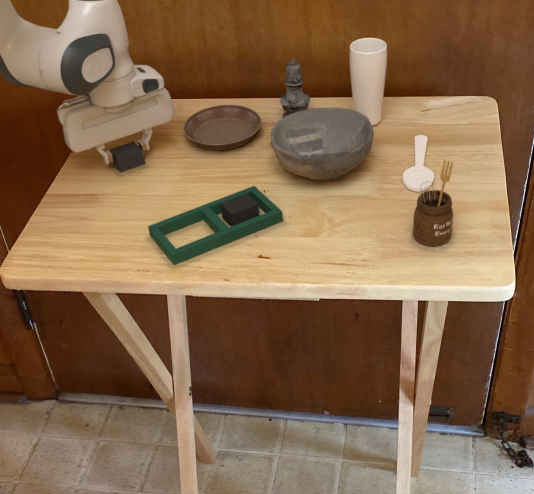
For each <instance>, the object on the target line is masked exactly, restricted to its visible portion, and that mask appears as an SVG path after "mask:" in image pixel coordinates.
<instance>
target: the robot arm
mask: <svg viewBox="0 0 534 494" xmlns="http://www.w3.org/2000/svg"><path fill="white" fill-rule="evenodd" d="M65 15H66V16H65V18H64V19H63V21H62V22H61V24H60V25H59V27H58V28H52V27H47V26H43V25H42V26H41V25H38V24H35V23H32V22H31V21H28V20H26V19H24V18H22V17H21V16H20V15H19V14H18V13H17V10H16V9H15V7H14V5H13V3H12V2H11V0H0V74H1V75H2V76H3V77H4V79H5V81H7V82H9V83H10V84H12V85H15V86H18V87H27V88H37V89H41V90H45V91H49V92H55V93H60V94H65V95H69V96H76V97H74V98H68V99H66V100H63V101H62V103H61V104H60V105H59V106H58V108H57V110H56V115H57V118H58V122H59V124H60V125H61V127H62V133H63V138H64V142H65V144H66V146H67V147H68V149H69V150H71V151H72V152H74V153H75V154H77V153H81V152H84V151H87V150H90V149H93V148H94V149H96V151H97V152H98V153H99V154H100V155H101V156H102V159H103V162H104V164H105V165H106V166H107V165H110V164H112V163H113V162H114V159H113V154H112V153H110V151H109V150H106V151H105V149H106V147H105V144H108V143H111V142H113V141H116V140H117V141H118V140H120V139H122V138H123V139H124V138H126V137H128V136H132V135H135V134H138V133H141V132H142V135H141V139H139V140H137V145H138V146H139V147H140V148H141V149H142V151H143V153H144V152H147V151H150V150H151V149H150V144H149V143H150V141H151V137H152V135H153V128H155V127H158V126H161V125H165V124H167V123H170V122H172V121H173V120H174V117H175V115H176V113H175V107H174V105H173V104H174V103H173V101H172V97H171V93H170V92H169V91H168V89H166V88H165V80H164V77H163V76H162V75H161V74H160V73H159V72H158V71H157V70H156V69H155V68H154V67H151V66H150V65H148V64H134V62H133V59H132V58H131V56H130V52H129V48H130V40H129V35H128V30H127V25H126V21H125V18H124V14H123V11H122V8H121V5H120V4H119V1H118V0H68V9H67V13H66V14H65Z"/></svg>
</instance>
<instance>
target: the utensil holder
mask: <svg viewBox="0 0 534 494" xmlns="http://www.w3.org/2000/svg"><path fill="white" fill-rule="evenodd" d="M446 162H447V163H446ZM453 165H454V162H453V161H451V162H450V160H447V159H444V160H443V163H442V166H441V167H442V168H441V171H440V175H439V179H440V180H441V183H442V184H441V188H440V190H439V189H437V186H436V183H435V182H433V184H432V185H431V187H432V189H428V190H424V191H421V190H422V185H421V188H420V192H419V195H418V197H417V202H416V207H415V209H414V213H413V224H412V225H413V227H412V229H413V230H412V232H413V238H414V239H415V240H416V242H418V243H419V244H420V245H424V246H425V247H426V246H427V247H439V246H442V245H444V244H446V243H447V242H449V241H450V239H451V236H452V232H453V222H454V211H453V200H452V197H451V196H450V194H448V193H447V192H445V191H444V190H445V185H446V183H448V182H450V181H451V180H450V179H451V176H452V170H453ZM426 182H427V180H426ZM427 183H429V181H428V182H427ZM427 183H426V185H425V186H426V188H427ZM431 183H432V181H431ZM424 184H425V183H424ZM429 184H430V183H429ZM433 185H434V186H433ZM428 187H429V185H428ZM424 188H425V187H424ZM429 188H430V187H429Z"/></svg>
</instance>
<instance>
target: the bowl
mask: <svg viewBox="0 0 534 494" xmlns="http://www.w3.org/2000/svg"><path fill="white" fill-rule="evenodd" d="M269 135H270V145H271V148H272V150H273V152H274V154H275V156H276V159H277V160H278V161H279V163H280V165H281V166H282V167H283V168H284V169H285V170H287V171H289V172H290V173H291V174H295V175H296V176H300V177H303V178H308V179H310V180H314V181H315V180H316V181H325V180H326V181H327V180H329V181H330V180H335V179H336V178H339V177H342V176H343V175H344V174H346V173H349V172H350V171H351V170H354V169H355V168H356V167H357V166H359V165H360V164H361V163H362V162H363V161H364V160H366V158H367V157H368V155H369V154H370V151H371V150H372V146H373V141H374V135H375V131H374V127H373V126H372V125H371V122H370V121H369V119H368V117H366V116H365V115H363V114H361V113H359V112H357V111H354V109H351V108H350V109H349V108H345V107H337V106H336V107H334V106H333V107H313V108H307V110H303V111H299V112H296V113H293V114H290V115H288V116H286V117H284V118H283V117H282V118H280V119H279V120H278V121H276V122H275V123H274V124H273V126H272V129H271V131H270V134H269Z"/></svg>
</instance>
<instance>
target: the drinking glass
mask: <svg viewBox="0 0 534 494" xmlns="http://www.w3.org/2000/svg"><path fill="white" fill-rule="evenodd" d="M348 56H349V57H348V60H349V77H350V87H351V96H352V98H351V99H352V108H353V109H352V110H354V111H357V112H359V113H361V114H363V115H365V116H366V117H368V119H369V121H370V122H371V125H372V127H373V126H376V125H379V124H380V122H381V121H382V118H383V105H384V95H385V85H386V77H387V69H388V45H387V43H386V42H385V40H383V39H381V38H376V37H363V38H359V39H356V40H353V41H352V42H351V43H350V44H349V55H348Z"/></svg>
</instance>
